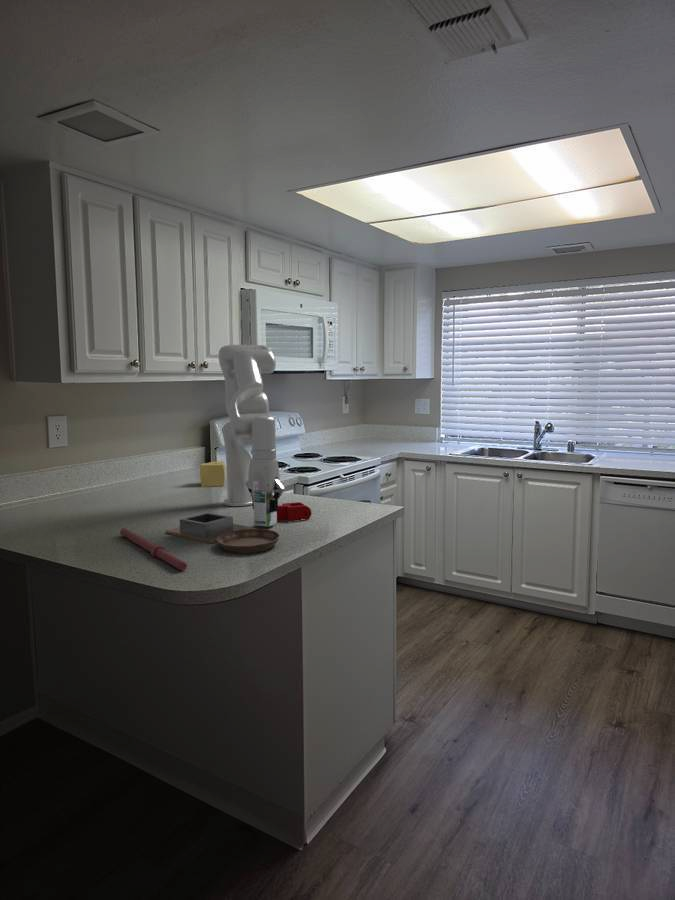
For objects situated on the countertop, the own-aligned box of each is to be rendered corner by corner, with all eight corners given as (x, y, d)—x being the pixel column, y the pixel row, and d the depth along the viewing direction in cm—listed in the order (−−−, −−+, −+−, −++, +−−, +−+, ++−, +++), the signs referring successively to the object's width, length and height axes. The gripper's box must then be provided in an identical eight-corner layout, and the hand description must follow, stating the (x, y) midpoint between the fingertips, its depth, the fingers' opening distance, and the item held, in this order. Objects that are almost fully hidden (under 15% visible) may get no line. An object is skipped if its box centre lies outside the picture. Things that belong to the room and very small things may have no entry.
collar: (209, 521, 207) (209, 507, 206) (257, 530, 194) (257, 515, 193) (165, 533, 193) (165, 517, 192) (214, 543, 179) (213, 527, 179)
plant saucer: (245, 559, 164) (245, 548, 164) (204, 548, 176) (204, 537, 175) (292, 545, 178) (292, 534, 177) (251, 535, 189) (251, 525, 189)
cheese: (202, 483, 283) (202, 461, 281) (226, 482, 284) (226, 460, 283) (200, 487, 272) (199, 464, 271) (225, 486, 274) (224, 464, 272)
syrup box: (253, 525, 197) (252, 480, 195) (261, 521, 203) (260, 477, 201) (269, 527, 195) (268, 482, 193) (277, 522, 201) (276, 478, 199)
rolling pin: (189, 571, 155) (188, 559, 155) (177, 573, 153) (176, 561, 153) (128, 535, 191) (128, 525, 190) (118, 537, 189) (118, 527, 189)
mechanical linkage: (304, 515, 215) (304, 501, 214) (311, 519, 208) (311, 505, 208) (260, 520, 209) (259, 505, 209) (265, 524, 203) (265, 509, 202)
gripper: (236, 454, 198) (237, 508, 201) (276, 459, 188) (277, 516, 190) (252, 451, 204) (253, 504, 207) (292, 455, 194) (293, 511, 196)
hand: (265, 509), depth 198 cm, fingers closed on syrup box, 6 cm apart
